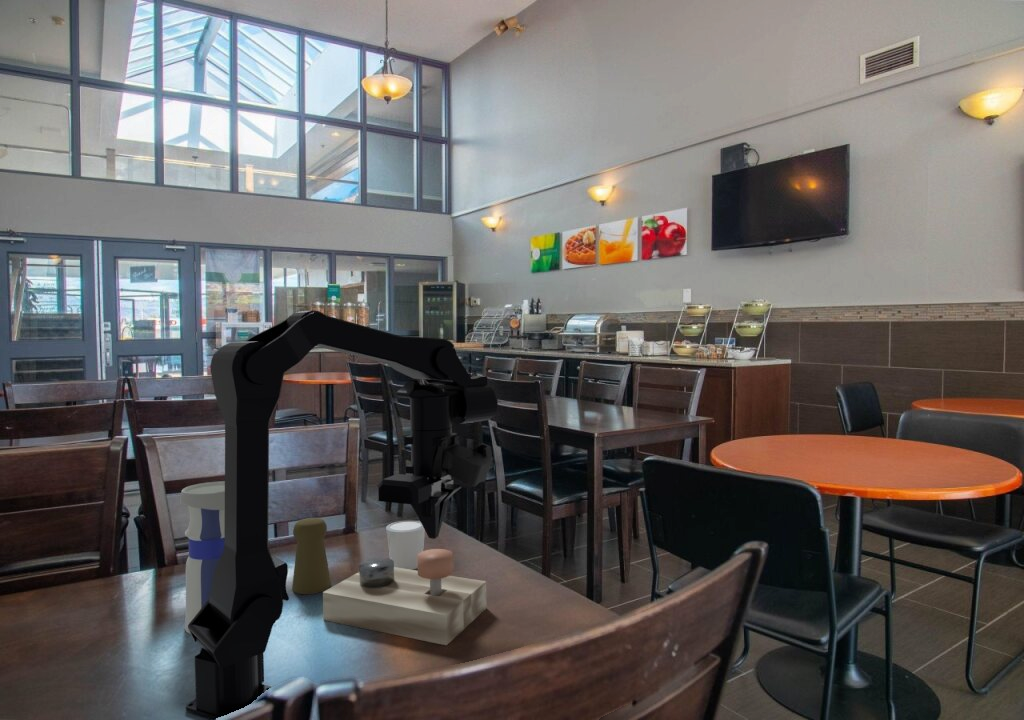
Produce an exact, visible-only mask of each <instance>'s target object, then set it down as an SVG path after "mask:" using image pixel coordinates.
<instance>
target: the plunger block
mask: <svg viewBox="0 0 1024 720" xmlns="http://www.w3.org/2000/svg"><path fill="white" fill-rule="evenodd" d="M441 587H442V594H441V595H440V596H434V595H430V579H425V578H422V577H420V576H419V575H418V570H417V569H412V570H410V569H403V568H397V567H394V581H393V582H392V583H390V584H388V585H385V586H380V587H366V586H363V585H361V584H360V574H359V571H358V572H357V573H354V574H352V575H350V576H349V577H347V578H346V579H343V580H342V581H341V582H339V583H337V584H335V585H333V586H332V587H331V586H330V587H329V588H328V589H326V590H324V591H322V610H323V613H322V614H323V616H322V617H323V619H322V620H323V621H328V622H331V623H336V624H341V625H347V626H351V627H354V628H355V627H356V628H361V629H366V630H370V631H375V632H379V633H385V634H390V635H395V636H399V637H405V638H409V639H414V640H418V641H419V640H420V641H424V642H427V643H433V644H438V645H442V646H448V644H450V643H451V642H452V641H453V640H454V639H455V638H456V637H457V636H458V635H460V634H461V633H462V632H463V631H464V630H465V629H466V628H467V627H468V626H469V625H470V624H471V623H473V622H474V621H475V620H476V619H477V618H478V617H479V616H480V615H481V614H482V613H483V612H484V611H486V609H487V605H488V604H487V581H486V580H479V579H474V578H467V577H461V576H454V575H450V576H448V577H445V578H441Z"/></svg>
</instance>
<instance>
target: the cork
mask: <svg viewBox="0 0 1024 720" xmlns="http://www.w3.org/2000/svg"><path fill="white" fill-rule="evenodd" d="M327 530H328V527H327V523H326V521H325V519H323V518H320V517H307V518H303V519H302V518H301V519H300V520H298V521H297V522H295V524H294V525H293V529H292V535H293V538H294V540H295V541H296V548H295V550H296V551H295V560H294V567H293V576H292V577H293V579H292V586H291V590H292V592H293V593H295V594H299V595H311V594H312V595H313V594H316V593H320V592H321V593H322V592H324V591H326V590H328V589H330V588H331V585H332V583H331V577H330V570H329V563H328V557H327V551H326V547H325V546H326V545H325V537H326V536H327V532H328V531H327Z"/></svg>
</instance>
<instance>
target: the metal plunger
mask: <svg viewBox="0 0 1024 720" xmlns="http://www.w3.org/2000/svg"><path fill="white" fill-rule="evenodd" d="M358 569H359V571H358V572H359V574H360V584H361V585H363V586H366V587H380V586H385V585H388V584H390V583H392V582H393V581H394V561H393V560H391V559H390V557H389V558H387V557H374V558H373V557H372V558H368V559H366V560H365V559H364V560H363V561H361V562H360V563H359V564H358Z"/></svg>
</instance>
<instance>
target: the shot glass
mask: <svg viewBox="0 0 1024 720" xmlns="http://www.w3.org/2000/svg"><path fill="white" fill-rule="evenodd" d="M385 529H386V530H385V531H386V539H387V546H388V553H389V559H391V560H393V561H394V567H397V568H403V569H410V570H417V569H418V565H417V555H418V554H419V553H420V552H422V551H425V550H424V548H425V545H424V544H425V533H426V531H425V529H424V527H423V525H422V524H421V522H420V520H400V521H395V522H392V523H390V524H387V525H386V528H385Z"/></svg>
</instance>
